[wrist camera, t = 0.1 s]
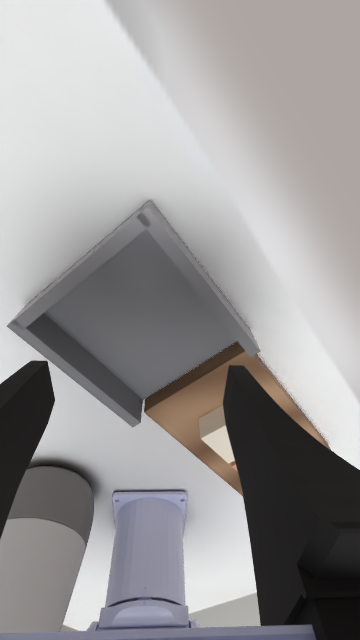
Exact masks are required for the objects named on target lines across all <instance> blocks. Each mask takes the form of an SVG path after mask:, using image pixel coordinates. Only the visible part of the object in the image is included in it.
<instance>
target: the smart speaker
mask: <svg viewBox="0 0 360 640" xmlns="http://www.w3.org/2000/svg"><path fill="white" fill-rule="evenodd" d="M93 513H94V500H93V494H92V491H91V488H90V486H89V484H88V483H87V481H86V480H85V479H84V478H83V477H81V476H80V475H79V474H77V473H75V472H74V471H71V470H69V469H66V468H63V467H58V466H38V467H33V468H30V469H27V470H26V472H25V474H24V476H23V478H22V480H21V483H20V485H19V488H18V490H17V493H16V495H15V498H14V501H13V504H12V507H11V510H10V512H9V515H8V518H7V521H6V524H5V527H4V530H3V533H2V536H1V539H0V633H33V632H60V631H61V627H62V624H63V621H64V618H65V615H66V612H67V608H68V605H69V602H70V599H71V595H72V592H73V589H74V586H75V582H76V579H77V576H78V573H79V569H80V566H81V563H82V560H83V557H84V553H85V550H86V546H87V543H88V539H89V535H90V531H91V526H92V521H93Z"/></svg>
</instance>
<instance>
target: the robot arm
mask: <svg viewBox="0 0 360 640" xmlns="http://www.w3.org/2000/svg"><path fill="white" fill-rule="evenodd" d="M54 402H55V397H54V392H53V387H52V382H51V377H50V372H49V367H48V362H47V361H30V362H29V363H27V364H26V365H25V366H23V367H22V368H21V369H19V370H18V371H17V372H15V373H14V374H13V375H12V376H10V377H9V378H8V379H6V380H5V381H4V382H2V383H1V384H0V539H1V536H2V533H3V530H4V527H5V524H6V521H7V518H8V515H9V512H10V510H11V507H12V504H13V501H14V498H15V495H16V493H17V490H18V488H19V485H20V483H21V480H22V478H23V476H24V474H25V472H26V469H27V467H28V465H29V463H30V461H31V459H32V457H33V454H34V452H35V450H36V448H37V446H38V444H39V442H40V439H41V437H42V435H43V433H44V431H45V429H46V426H47V424H48V421H49V418H50V415H51V412H52V408H53V405H54ZM223 409H224V417H225V424H226V429H227V433H228V436H229V440H230V444H231V448H232V452H233V456H234V459H235V463H236V467H237V471H238V474H239V478H240V483H241V487H242V492H243V498H244V504H245V510H246V516H247V523H248V530H249V536H250V543H251V550H252V558H253V565H254V572H255V580H256V588H257V597H258V605H259V614H260V623H261V626H246V627H211V628H201V627H200V626H199V624H198V623H197V620H196V619H189V615H188V606H185V581H184V555H183V535H184V525H185V514H186V504H187V493H186V492H115V493H113V495H112V501H113V510H114V519H115V528H116V531H115V539H114V546H113V553H112V560H111V568H110V575H109V582H108V590H107V597H106V604H105V608H101V612H100V619H99V621H98V622H92V623H91V625H90V627H89V628H88V629H87V630H86V631H68V632H33V633H0V640H360V470H359V469H357V468H356V467H354V466H352V465H351V464H350V463H348V462H347V461H345V460H344V459H342V458H341V457H339V456H338V455H337V454H335V453H334V452H332V451H331V450H330V449H328V448H327V447H326V446H324V445H323V444H322V443H320V442H319V441H318V440H317V439H315V438H314V437H313V436H312V435H311V434H309V433H308V432H307V431H306V430H305V429H303V428H302V427H301V426H300V425H299V424H298V423H297V422H295V421H294V420H293V419H292V418H291V417H290V416H289V415H288V414H287V413H286V412H285V411H284V410H283V409H282V408H281V407H280V406H279V405H278V404H277V403H276V402H275V401H274V400H273V398H272V397H271V396H270V395H269V394H268V393H267V392H266V391H265V390H264V389H263V387H262V386H261V385H260V384H259V383H258V382H257V380H256V379H255V378H254V377H253V376H252V374H251V373H250V372H249V371H248V370H247V369H246V367H245V366H244V365H229V368H228V374H227V380H226V386H225V392H224V398H223Z"/></svg>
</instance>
